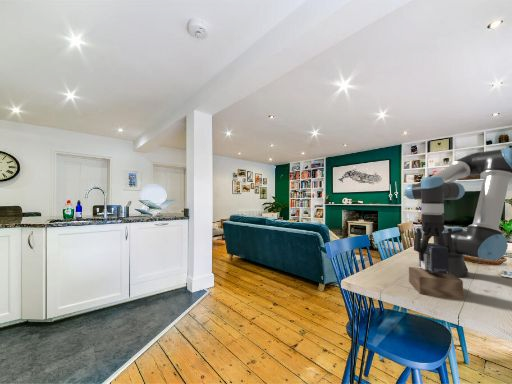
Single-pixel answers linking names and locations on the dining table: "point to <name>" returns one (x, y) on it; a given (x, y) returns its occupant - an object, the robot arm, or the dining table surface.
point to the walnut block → (435, 283)
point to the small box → (437, 259)
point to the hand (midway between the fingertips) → (433, 269)
